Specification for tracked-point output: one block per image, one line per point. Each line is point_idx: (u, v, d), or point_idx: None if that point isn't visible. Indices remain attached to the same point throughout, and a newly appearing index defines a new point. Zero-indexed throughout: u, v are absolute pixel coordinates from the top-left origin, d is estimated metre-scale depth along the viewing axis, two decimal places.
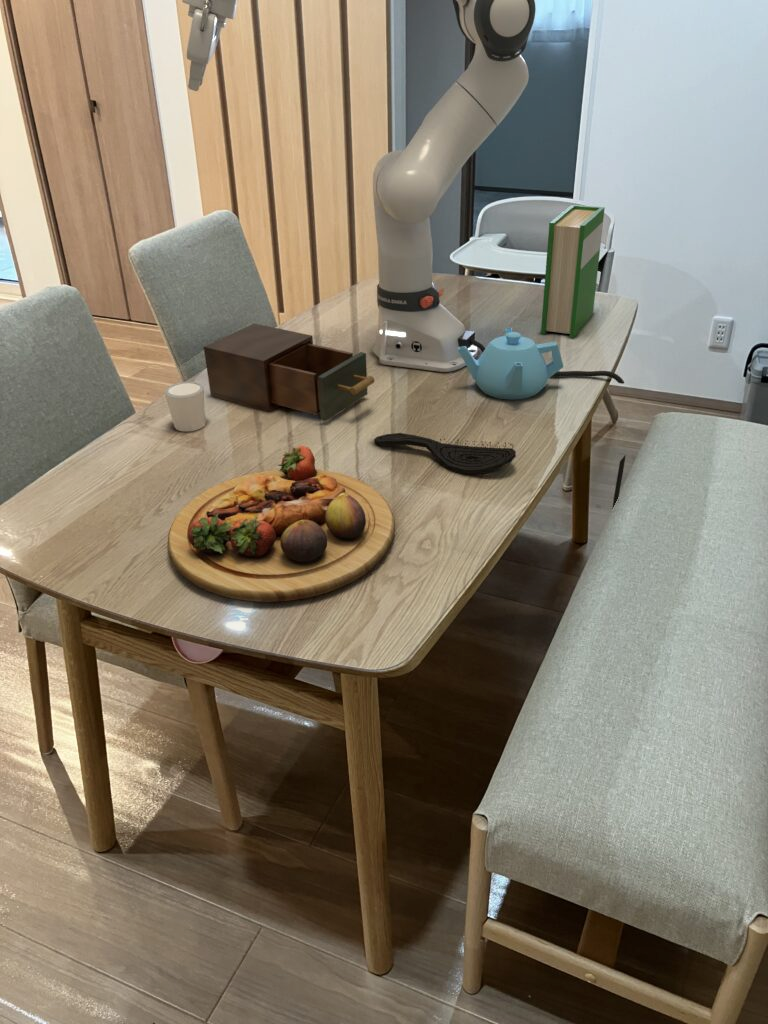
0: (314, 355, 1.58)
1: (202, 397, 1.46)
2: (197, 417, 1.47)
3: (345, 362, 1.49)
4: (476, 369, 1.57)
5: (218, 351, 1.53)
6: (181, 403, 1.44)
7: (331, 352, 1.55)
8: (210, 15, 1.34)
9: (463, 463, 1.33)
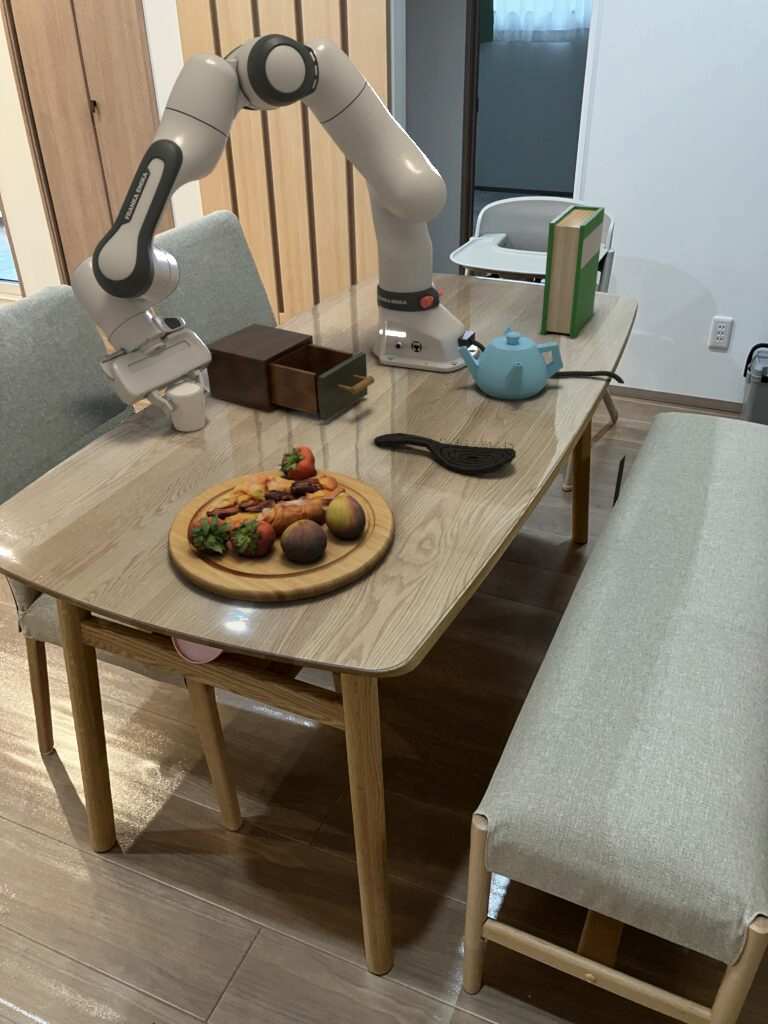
0: (314, 355, 1.58)
1: (202, 397, 1.46)
2: (197, 417, 1.47)
3: (345, 362, 1.49)
4: (476, 369, 1.57)
5: (218, 351, 1.53)
6: (181, 403, 1.44)
7: (331, 352, 1.55)
8: (112, 363, 1.40)
9: (463, 463, 1.33)
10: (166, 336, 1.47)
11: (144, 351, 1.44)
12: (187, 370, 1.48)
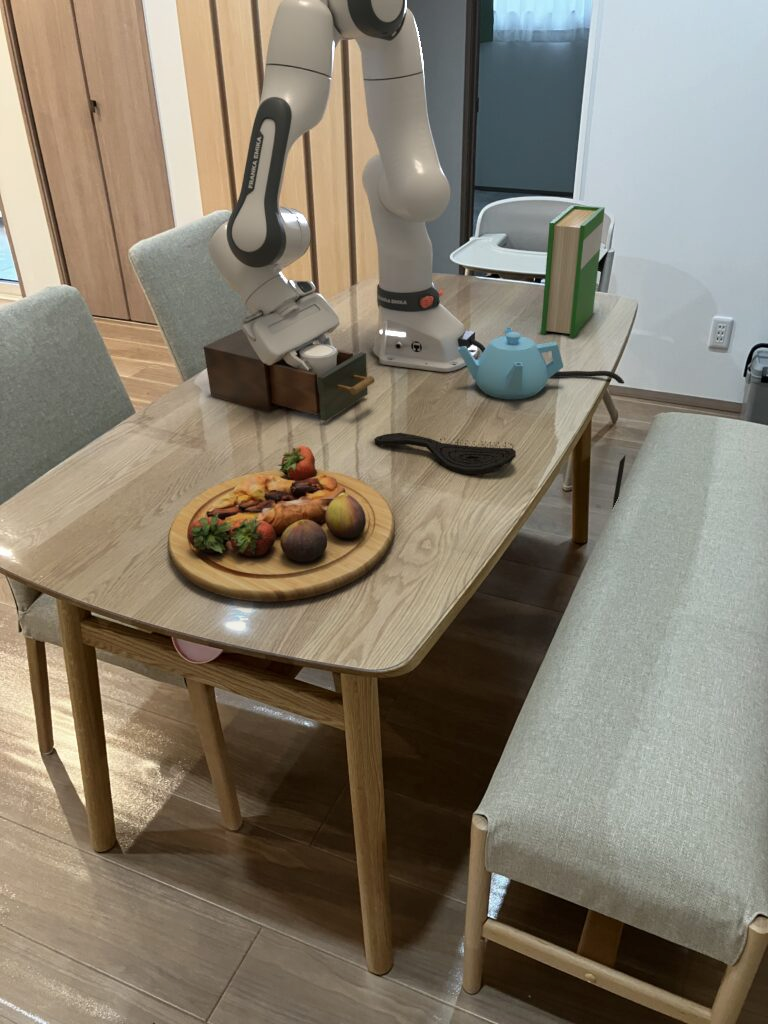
0: None
1: (335, 358, 1.50)
2: None
3: (345, 362, 1.49)
4: (476, 369, 1.57)
5: (218, 351, 1.53)
6: (317, 364, 1.48)
7: None
8: (253, 324, 1.44)
9: (463, 463, 1.33)
10: (299, 299, 1.51)
11: (281, 313, 1.47)
12: (319, 333, 1.51)
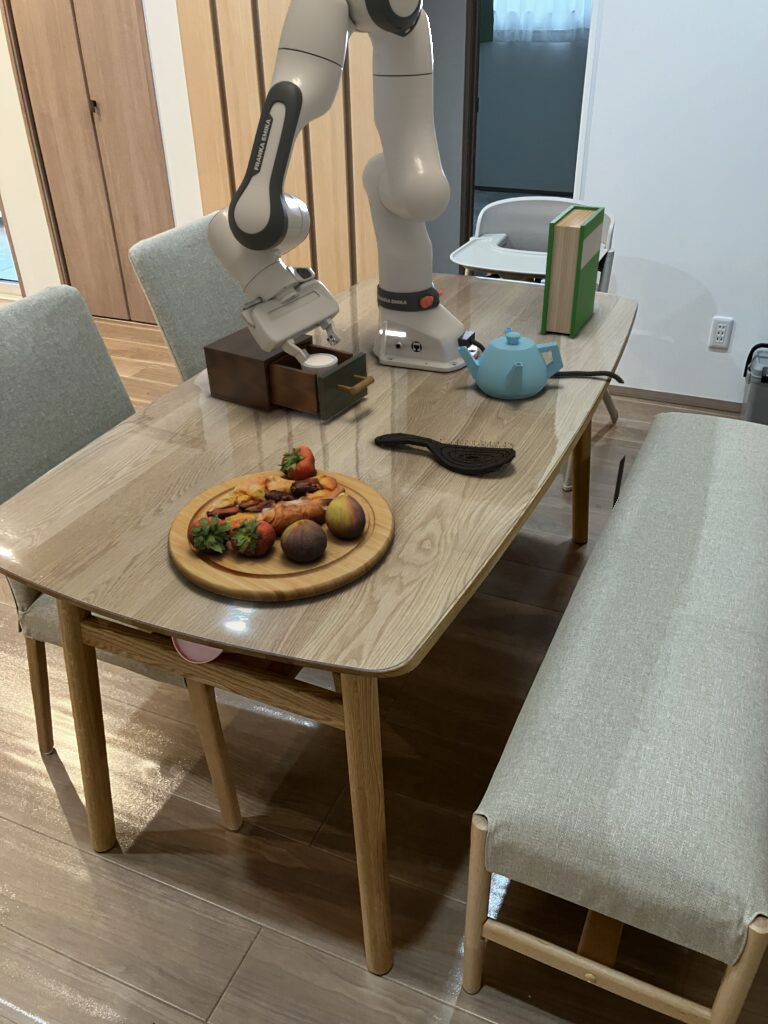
0: None
1: None
2: None
3: (345, 362, 1.49)
4: (476, 369, 1.57)
5: (218, 351, 1.53)
6: (318, 373, 1.49)
7: (331, 352, 1.55)
8: (252, 310, 1.43)
9: (463, 463, 1.33)
10: (299, 286, 1.50)
11: (280, 299, 1.46)
12: (319, 319, 1.50)
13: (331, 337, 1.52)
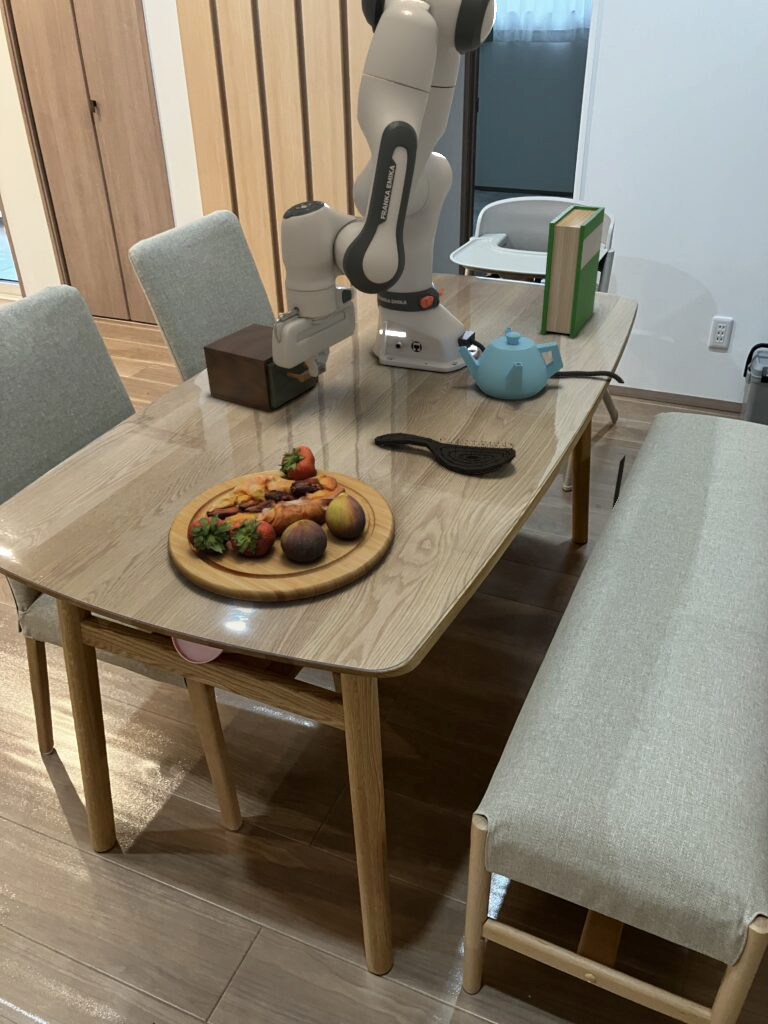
0: None
1: None
2: None
3: None
4: (476, 369, 1.57)
5: (218, 351, 1.53)
6: None
7: None
8: (286, 326, 1.40)
9: (463, 463, 1.33)
10: None
11: (314, 321, 1.44)
12: (333, 344, 1.51)
13: None
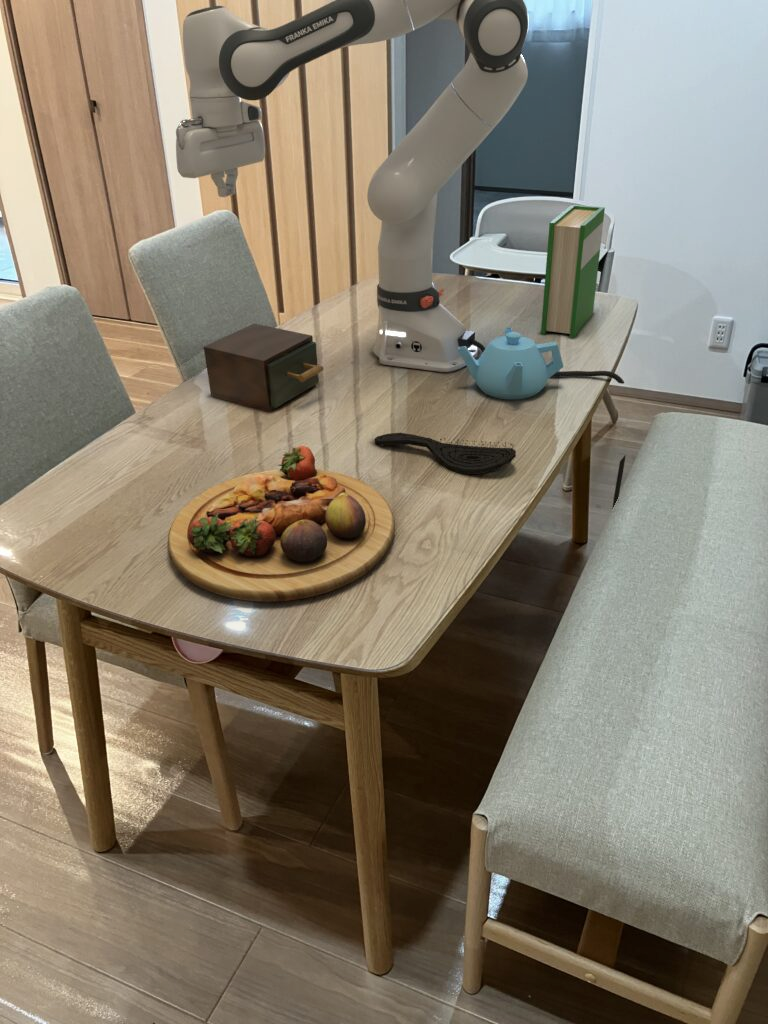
0: None
1: None
2: None
3: (295, 351, 1.54)
4: (476, 369, 1.57)
5: (218, 351, 1.53)
6: None
7: None
8: (189, 132, 1.41)
9: (463, 463, 1.33)
10: (241, 124, 1.49)
11: (219, 133, 1.45)
12: (241, 165, 1.53)
13: None
